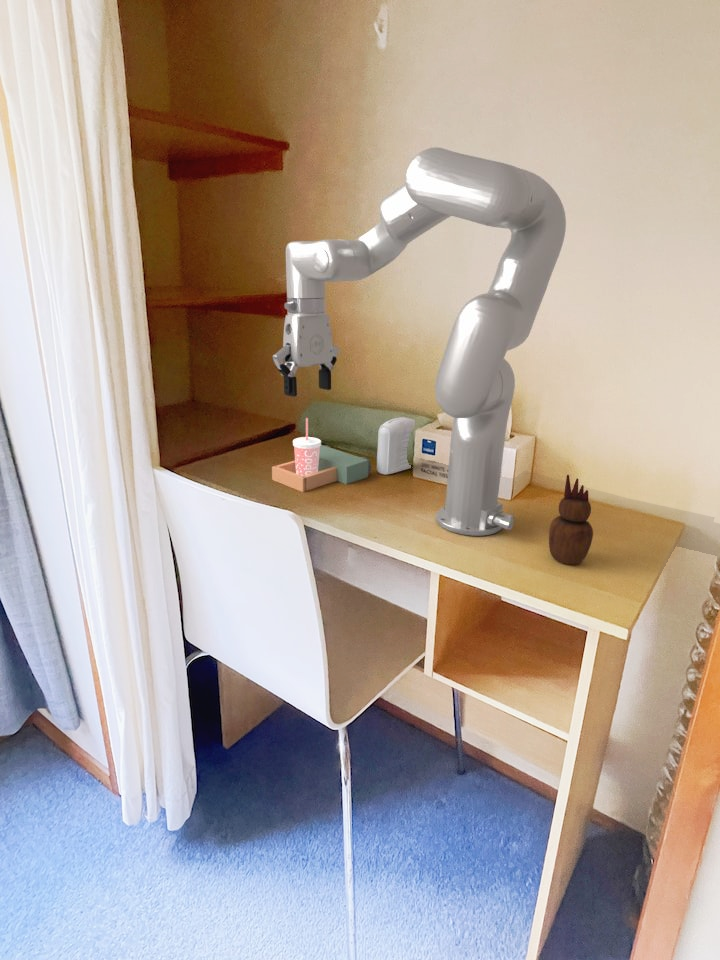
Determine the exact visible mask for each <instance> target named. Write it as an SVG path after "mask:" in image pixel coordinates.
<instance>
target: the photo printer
mask: <svg viewBox="0 0 720 960" xmlns="http://www.w3.org/2000/svg"><path fill="white" fill-rule="evenodd" d="M415 422H416V421H415V419H413V418H409V417H405V416H404V417H402V416H401V417H395V418H391V419H389V420H387V421H385V422H384V423H383V424H381V425H380V426H379V428H378V430H377V431H378V435H377V450H376V451H377V453H376V454H377V455H376V472H378V473H379V474H381V475H391V474H394V473H399V472H402V471H405V470H409V469H412V468H411V465H409V463H408V460H407V447H408V446H407V445H408V441H409V437H410V433H411V431H412V430H413V428H414V427H415Z"/></svg>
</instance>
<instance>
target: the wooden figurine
mask: <svg viewBox="0 0 720 960" xmlns="http://www.w3.org/2000/svg"><path fill="white" fill-rule="evenodd" d="M564 486H565V487H564V493H563V494H564V495H563V497H562V498H561V499H560V502H559V504H558V513H559V515H557V516H556V517H554V519H553V520H552V521H551V522H550V525H549V531H548V548H549V552H550V556H551V557H552V558H553V559H554V560H555V561H557V562H559V563H562V564H565V565H573V566H574V565H579V564H581V563H582V562H583V561H584V559H585V558H586V557H587V555H588V552H589V550H590V548H591V546H592V542H593V537H594V529H593V527H592V525H591V523H590V522H589V521H588V519H589V517H590V515H591V513H592V505H591V503H590V499H589V490H588V489H586V490H585V491H584V487H585V486H584V485H583V484H581V485H580V488H579V478H578V477H577V478H576V479H575V482H574V484H573V486H572V487H573V488H572V487H571V480H570V475H569V474H566V478H565V485H564ZM571 488H572V489H571Z"/></svg>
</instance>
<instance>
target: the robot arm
mask: <svg viewBox="0 0 720 960" xmlns="http://www.w3.org/2000/svg"><path fill="white" fill-rule="evenodd" d="M404 175H405V176H404V184H403V185H401V186H400V187H398V188H397V189H395V190H394V191H392V192H391V193H388V195H386V196H385V197H384V198H383V199H382V200H381V202H380V205H379V215H380V221H379V222H378V223H377V224H375V225H374V226H373V227H372V228H371V229H370V230H368V231H366V232H365V233H364V234H362V235H361V236H358V238H356V239H340V238H339V239H333V238H332V239H331V238H330V239H329V238H328V239H327V238H326V239H321V240H315V241H311V240H310V241H309V240H295V241H290V242H289V243H287V244H286V246H285V277H286V301H287V302H284V309H285V310H287V314H285V318H284V319H285V320H284V323H283V326H284V327H283V337H282V338H283V341H282V347H281V348H280V349H279V350H278V351H277V352H276V353H274V354H273V355H272V360H273V363H274V364H275V366H276V369H277V371H279V373H280V376H282V377H283V389H284V390H283V391H284V395H285V396H288V397H293V398H294V397H297V395H298V390H297V387H298V386H297V384H298V383H297V382H298V381H297V380H298V379H297V376H295V375H296V372H297V371H298V368H299V367H301V368H304V367H314V366H319V368H320V369H318V388H319V389H321V390H322V389H323V390H327V391H331V390H332V371H334V366H335V364H336V362H337V358H338V355H339V352H340V348H339V347H338V346H336V345H335V344H333V337H332V336H333V335H332V327H331V322H330V318H329V313H326V286H325V285H326V283H337V282H339V283H341V282H357V281H361V280H364V279H366V278H368V277H370V276H371V275H373V274H375V273H376V272H378V271H379V270H381V269H383V268H384V267H386V266H388V265H390V263H392V262H393V261H394V260H396V259H397V258H398V257H399V255H401V254H402V252H403V251H405V249H406V248H407V246H408V245H409V244H410V243H412V241H414V240H416V239H417V238H419V237H420V236H421V235H423V234H424V233H427V232H428V231H430V230H431V229H433V228H435V227H436V226H437V225H439V224H441V223H442V222H444V221H445V220H447V219H449V218H450V217H454V218H459V219H462V220H466V221H470V222H472V223H477V224H481V225H483V226H487V227H492V228H500V229H501V228H502V229H509V231H510V233H511V235H510V240H509V242H508V244H507V246H506V248H505V250H504V251H503V253H502V255H501V257H500V260H499V262H498V265H497V268H496V272H495V273H494V277H493V280H492V282H491V285H490V287H489V290H488V291H487V292H486V293H483V294H479V295H477V296H475V297H473V298H471V299H470V300H469V301H468V302H466V303H465V304H464V305H463V306H462V308H461V309H460V311H459V313H458V315H457V316H456V318H455V321H454V323H453V325H452V329H451V331H450V334H449V337H448V341H447V343H446V346H445V349H444V352H443V355H442V359H441V361H440V365H439V367H438V371H437V373H436V378H435V384H434V395H435V399H436V402H437V404H438V406H439V408H440V409H441V410H442V411H443V412H444V413H445V414H446V415H447V416H450V417H452V418H453V420H452V421H453V422H452V427H451V436H450V445H449V446H450V447H449V448H450V449H449V457H448V459H449V460H448V471H447V483H446V493H445V494H446V495H445V496H446V497H445V505H444V506H443V507H441V508H440V509H439V510H437V512H436V513H435V514H436V515H435V520H436V523H437V524H438V525H439V526H440V527H441V528H443V529H445V530H447V531H449V532H452V533H455V534H460V535H465V536H472V537H473V536H475V537H476V536H477V537H479V536H480V537H481V536H483V537H484V536H489V535H494V534H496V533H498V532H500V531H502V529H505V530H507V531H511V530H512V529H513V526H514V523H515V522H514V519H515V515H512V514H510V513H505V512H504V511H503V503H502V502H500V501H499V491H500V484H501V483H500V482H501V474H502V467H503V457H504V456H503V455H504V448H505V442H506V433H507V426H508V420H509V415H510V410H511V406H512V402H513V399H514V393H515V389H516V388H515V387H516V386H515V385H516V382H515V381H516V379H515V374H514V373H515V372H514V371H513V368H512V366H511V364H510V363H509V362H508V361H507V360H506V359H505V356H506V354H507V352H508V351H511V350H514V349H515V348H518V347H519V346H521V345H523V343H525V341H526V340H527V339H528V338H529V335H530V333H531V332H532V329H533V326H534V322H535V320H536V317H537V315H538V311H539V309H540V307H541V304H542V302H543V299H544V297H545V294H546V291H547V289H548V285H549V283H550V280H551V278H552V274H553V271H554V269H555V268H556V267H555V266H556V263H558V262H557V261H558V259H559V256H560V253H561V250H562V248H563V244H564V241H565V236H566V230H567V229H566V228H567V219H566V211H565V207H564V205H563V202H562V200H561V197H559V195H558V193H557V191H556V190H555V189H554V188H553V187H552V186H551V184H549V182H547V181H546V180H545V179H543V178H542V177H541V176H540V175H538V174H537V173H534V172H532V171H529V170H526V169H524V168H520V167H518V166H517V167H516V166H514V165H511V164H509V163H504V162H500V161H495V160H492V159H486V158H482V157H478V156H475V155H474V156H473V155H469V154H464V153H460V152H456V151H452V150H449V149H446V148H443V147H436V146H435V147H429V148H426V149H424V150H422V151H420V152H418V153H417V154H416V155H415V156H414V158H412V160H411V161H410V162H409V164H408V167H407V168H406V172H405V174H404ZM498 501H499V502H498Z"/></svg>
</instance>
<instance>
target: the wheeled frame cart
mask: <svg viewBox="0 0 720 960" xmlns="http://www.w3.org/2000/svg"><path fill="white" fill-rule="evenodd" d="M371 471H372V462H371V460H370V459H369V458H368V457H366V456H361V457H360V456H357V455H354V454H351V453H348V452H345V451H342V450H339V449H335V448H334V447H333V448H332V447H331V446H330V445H329V444H326V445H325V444H324V445H323V444H321V445H320V451H319V465H318V472H315V473H312V474H309V475H306V476H301V475H298V474H296V466H295V460H292V461H288V462H284V463H280V464H277V465H274V466H271V480H272V481H274V482H276V483H280V484H281V485H283V486H287V487H289V488H292V489H294V490H296V491H299V492H302V493H304V492H307V491H310V490H313V489H316V488H320V487H322V486H326V485H328V484H332V483H334V482H338V483H342V484H344V485H348V484H352V483H354V482H357V481H361V480H363V479H366V478H368V477H369V473H371Z"/></svg>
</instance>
